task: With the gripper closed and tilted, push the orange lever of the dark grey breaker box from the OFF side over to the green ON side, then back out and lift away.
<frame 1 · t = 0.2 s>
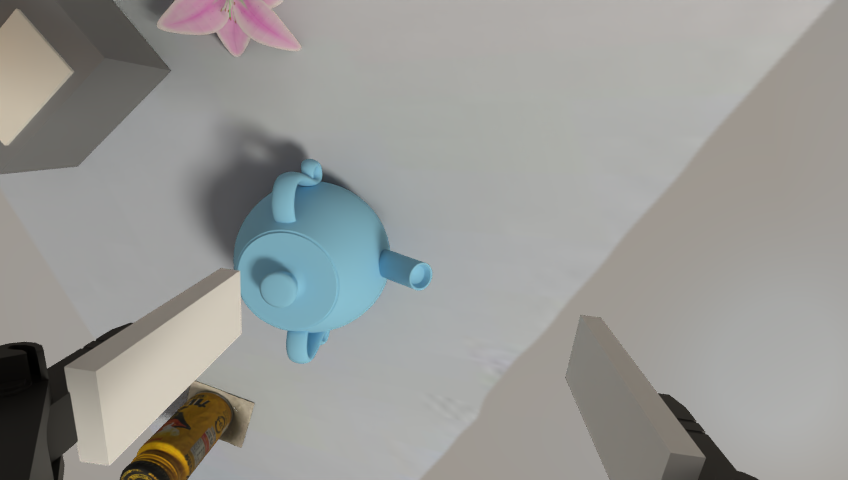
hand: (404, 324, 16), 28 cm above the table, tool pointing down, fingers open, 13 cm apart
lily: (255, 15, 40), on the table
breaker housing: (44, 31, 41), on the table
teapot: (347, 247, 45), on the table
condiment: (218, 412, 53), on the table
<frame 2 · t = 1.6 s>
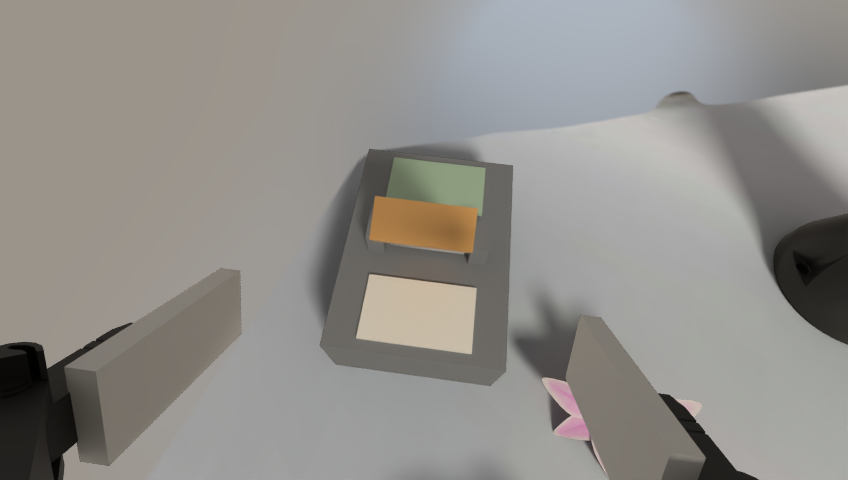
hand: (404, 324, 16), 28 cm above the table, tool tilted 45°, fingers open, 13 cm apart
lily: (594, 421, 40), on the table
breaker lever: (426, 232, 33), point 15 cm above the table, hinge at -25.0°
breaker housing: (426, 276, 47), on the table
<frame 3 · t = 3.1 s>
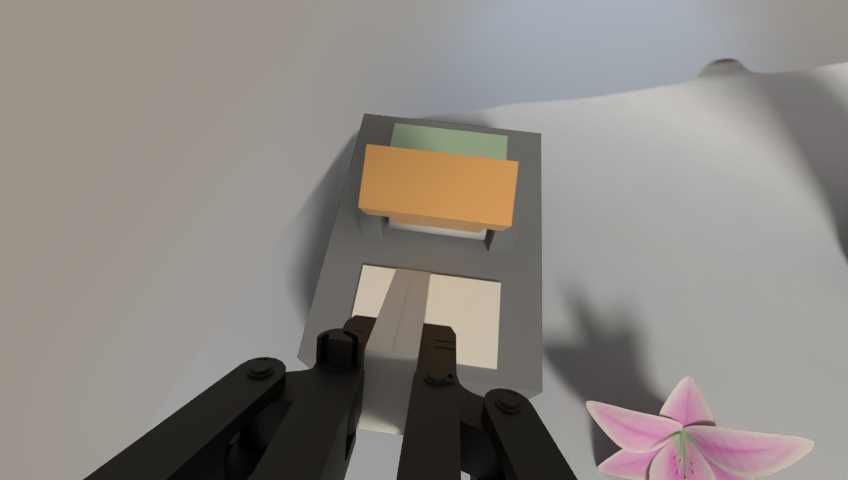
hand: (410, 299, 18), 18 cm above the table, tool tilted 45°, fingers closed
lily: (647, 453, 32), on the table
breaker lever: (438, 207, 24), point 15 cm above the table, hinge at -25.0°
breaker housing: (433, 270, 38), on the table
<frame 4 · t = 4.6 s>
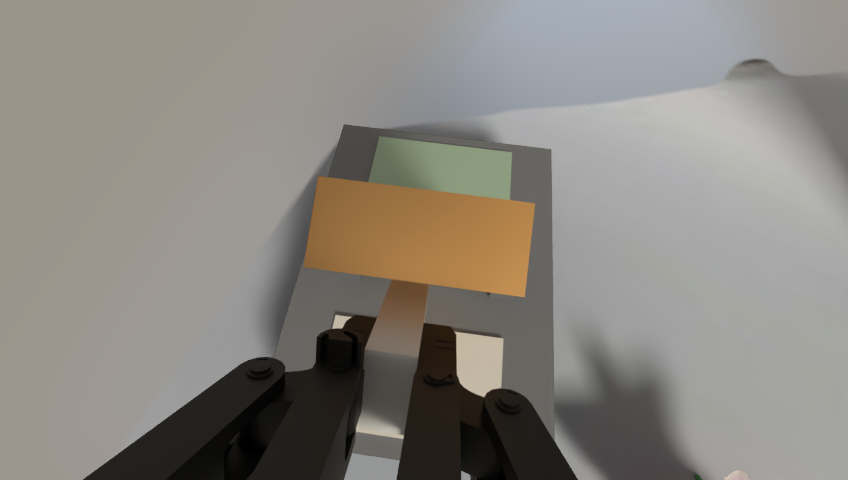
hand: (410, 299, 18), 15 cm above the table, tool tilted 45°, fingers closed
breaker lever: (425, 250, 19), point 15 cm above the table, hinge at -22.3°, touching gripper
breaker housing: (424, 306, 33), on the table
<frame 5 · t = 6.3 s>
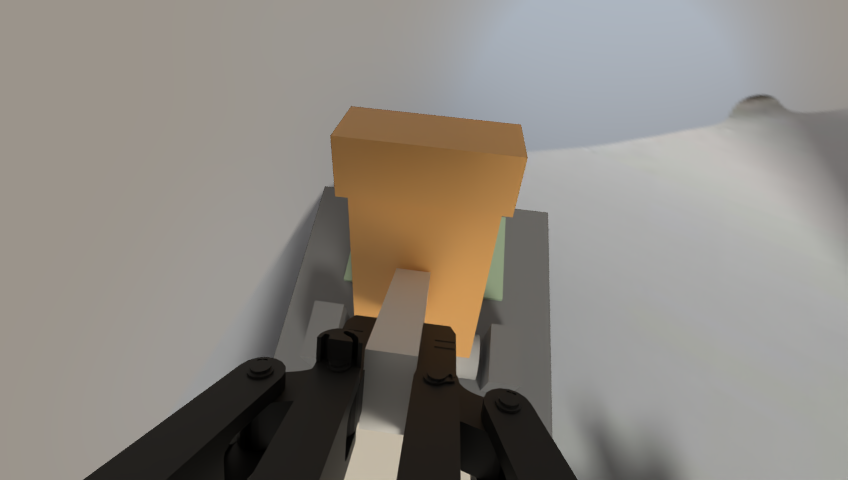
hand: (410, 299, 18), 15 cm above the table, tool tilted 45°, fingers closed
breaker lever: (419, 271, 19), point 15 cm above the table, hinge at 23.6°, touching gripper
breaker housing: (413, 378, 31), on the table
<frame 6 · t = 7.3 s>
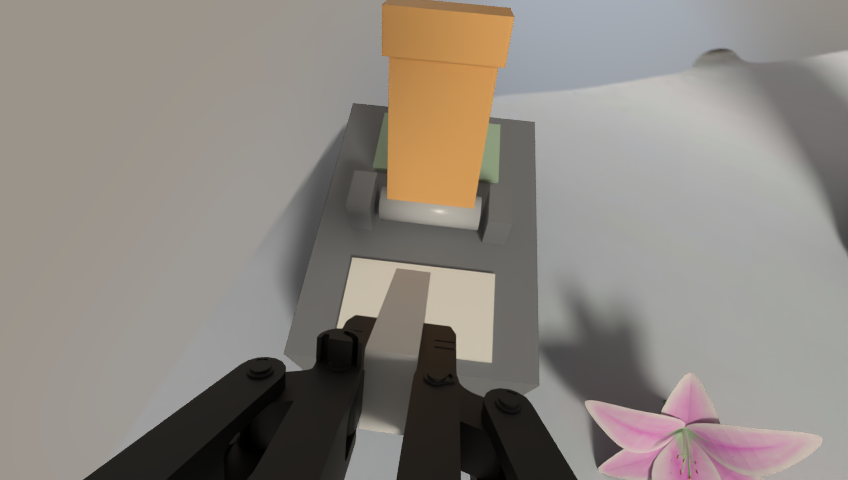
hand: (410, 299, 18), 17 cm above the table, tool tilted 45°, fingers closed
lily: (648, 452, 31), on the table
breaker lever: (437, 132, 26), point 15 cm above the table, hinge at 23.7°
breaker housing: (426, 264, 37), on the table
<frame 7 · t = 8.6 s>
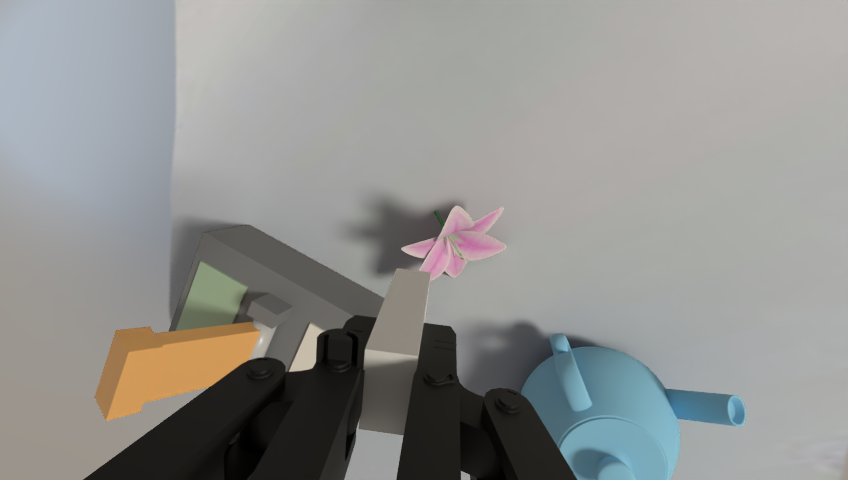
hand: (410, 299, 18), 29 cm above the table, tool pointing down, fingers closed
lily: (458, 239, 47), on the table
breaker lever: (199, 359, 38), point 15 cm above the table, hinge at 23.7°
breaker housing: (300, 319, 52), on the table
teapot: (607, 394, 45), on the table
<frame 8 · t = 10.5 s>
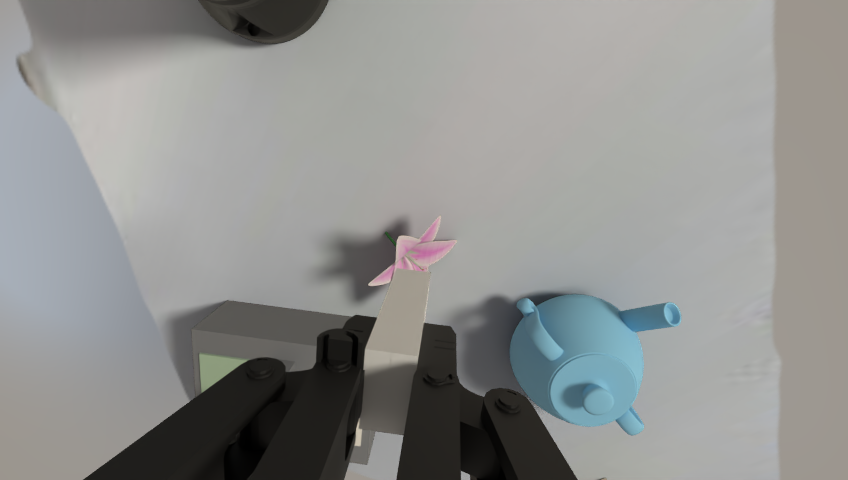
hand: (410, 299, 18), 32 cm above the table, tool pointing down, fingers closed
lily: (415, 248, 52), on the table
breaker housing: (305, 362, 57), on the table
teapot: (579, 328, 53), on the table
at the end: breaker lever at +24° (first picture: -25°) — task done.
